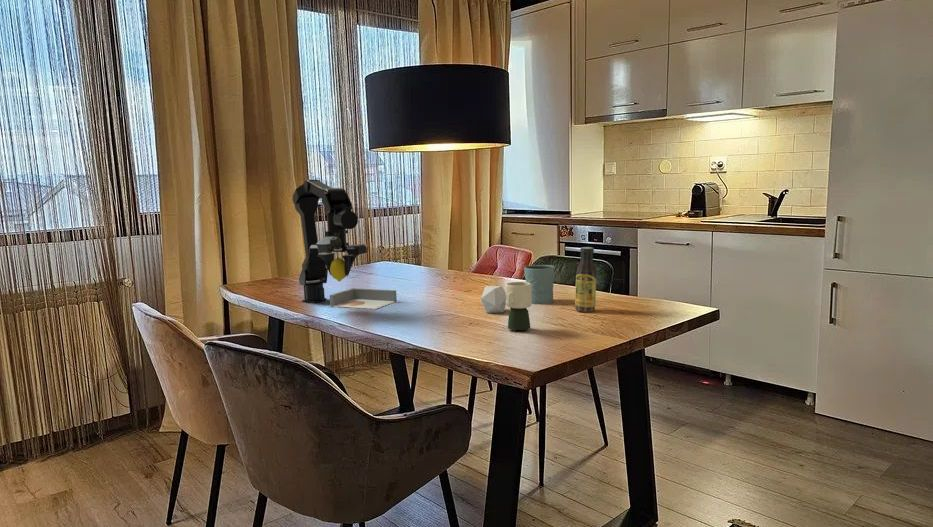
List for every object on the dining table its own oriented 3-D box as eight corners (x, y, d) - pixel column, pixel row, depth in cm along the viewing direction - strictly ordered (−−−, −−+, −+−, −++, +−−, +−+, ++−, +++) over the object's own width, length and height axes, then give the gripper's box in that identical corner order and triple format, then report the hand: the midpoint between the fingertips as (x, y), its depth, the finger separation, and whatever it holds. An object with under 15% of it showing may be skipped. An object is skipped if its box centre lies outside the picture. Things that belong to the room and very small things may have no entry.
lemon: (346, 282, 200) (344, 258, 199) (329, 283, 200) (327, 258, 199) (349, 279, 205) (348, 256, 204) (333, 280, 205) (331, 256, 204)
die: (499, 318, 190) (515, 290, 192) (474, 303, 191) (490, 276, 193) (498, 321, 198) (513, 295, 200) (473, 308, 199) (489, 281, 201)
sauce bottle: (572, 312, 192) (572, 248, 189) (578, 308, 198) (578, 246, 195) (593, 313, 189) (592, 248, 186) (598, 309, 194) (598, 246, 192)
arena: (330, 306, 212) (329, 295, 211) (353, 298, 224) (352, 288, 224) (375, 309, 204) (374, 297, 204) (396, 301, 217) (396, 290, 216)
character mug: (517, 324, 178) (516, 279, 176) (539, 327, 174) (538, 281, 173) (498, 332, 169) (496, 285, 167) (521, 335, 165) (520, 287, 164)
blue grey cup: (547, 305, 203) (546, 269, 201) (519, 303, 208) (518, 267, 206) (559, 300, 211) (559, 265, 210) (532, 297, 216) (532, 263, 215)
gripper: (297, 229, 196) (300, 278, 199) (346, 230, 189) (349, 280, 191) (318, 226, 207) (321, 273, 209) (366, 227, 199) (368, 275, 202)
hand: (339, 275), depth 202 cm, fingers closed on lemon, 5 cm apart
